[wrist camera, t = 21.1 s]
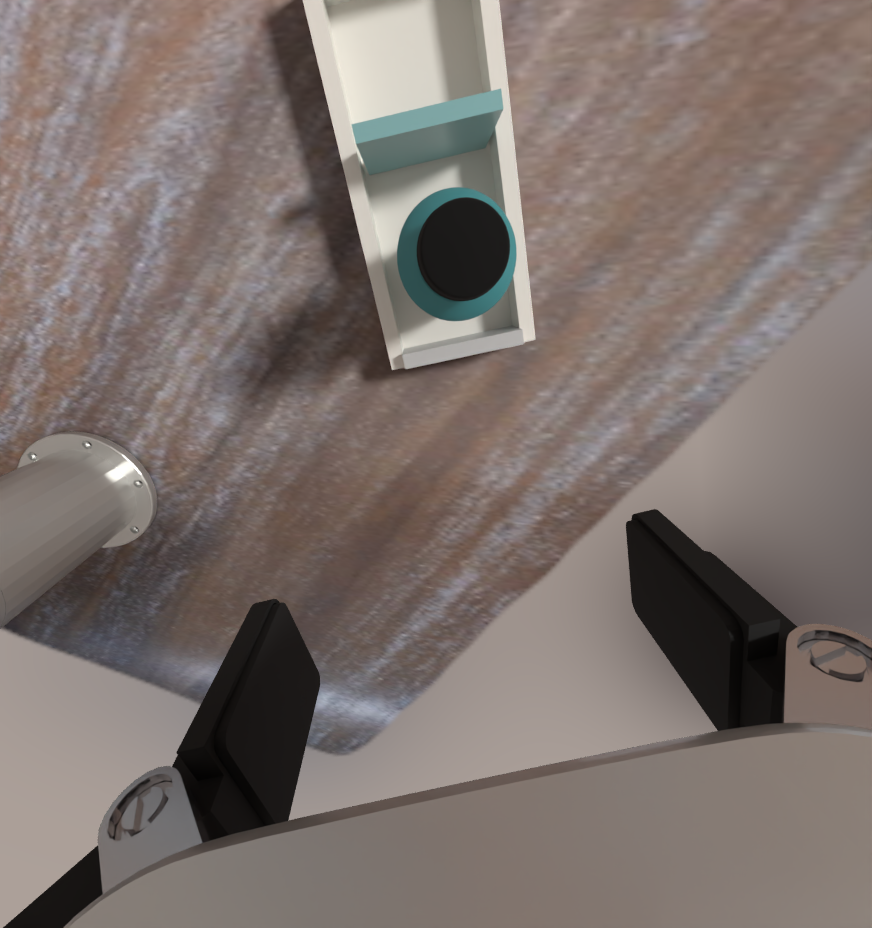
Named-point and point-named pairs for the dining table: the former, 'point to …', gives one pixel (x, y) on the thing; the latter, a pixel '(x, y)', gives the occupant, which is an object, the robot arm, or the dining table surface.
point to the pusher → (428, 132)
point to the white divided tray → (400, 190)
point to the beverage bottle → (456, 254)
